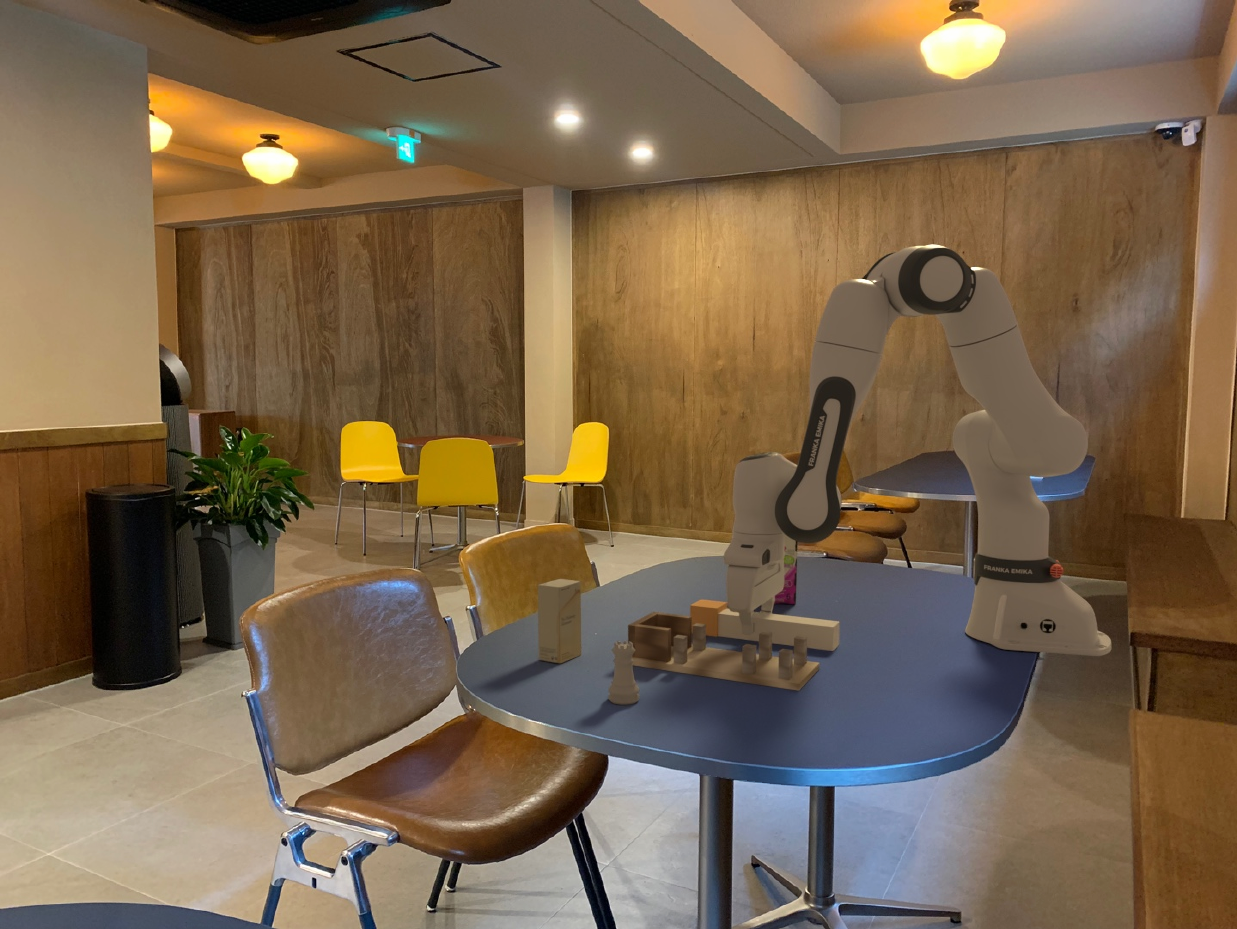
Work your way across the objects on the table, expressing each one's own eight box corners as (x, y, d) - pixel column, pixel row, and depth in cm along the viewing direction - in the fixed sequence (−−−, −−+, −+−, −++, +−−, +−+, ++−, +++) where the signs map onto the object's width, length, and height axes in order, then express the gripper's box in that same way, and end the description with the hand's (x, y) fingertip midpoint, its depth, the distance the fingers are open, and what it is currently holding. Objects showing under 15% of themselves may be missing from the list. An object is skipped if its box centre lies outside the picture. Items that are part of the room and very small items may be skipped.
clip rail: (819, 669, 138) (819, 630, 137) (799, 690, 128) (799, 649, 128) (652, 645, 151) (652, 610, 150) (622, 663, 141) (622, 626, 140)
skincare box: (559, 665, 141) (559, 587, 140) (537, 660, 143) (536, 584, 142) (582, 654, 146) (582, 580, 145) (560, 650, 148) (559, 577, 147)
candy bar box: (740, 604, 179) (741, 522, 178) (739, 598, 184) (740, 518, 183) (797, 605, 178) (798, 522, 177) (795, 599, 183) (796, 519, 182)
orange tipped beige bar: (839, 644, 151) (840, 615, 151) (832, 652, 147) (832, 622, 147) (700, 626, 163) (701, 599, 162) (690, 633, 158) (690, 605, 158)
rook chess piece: (615, 707, 122) (615, 649, 121) (602, 697, 126) (602, 641, 125) (645, 703, 124) (645, 645, 123) (631, 693, 128) (631, 637, 127)
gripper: (759, 537, 165) (758, 611, 166) (719, 555, 146) (719, 639, 148) (793, 539, 162) (792, 615, 163) (757, 559, 144) (756, 644, 145)
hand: (757, 627), depth 155 cm, fingers open, 8 cm apart
